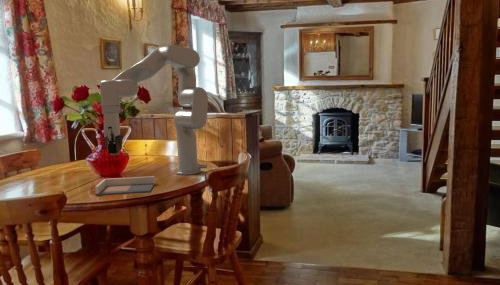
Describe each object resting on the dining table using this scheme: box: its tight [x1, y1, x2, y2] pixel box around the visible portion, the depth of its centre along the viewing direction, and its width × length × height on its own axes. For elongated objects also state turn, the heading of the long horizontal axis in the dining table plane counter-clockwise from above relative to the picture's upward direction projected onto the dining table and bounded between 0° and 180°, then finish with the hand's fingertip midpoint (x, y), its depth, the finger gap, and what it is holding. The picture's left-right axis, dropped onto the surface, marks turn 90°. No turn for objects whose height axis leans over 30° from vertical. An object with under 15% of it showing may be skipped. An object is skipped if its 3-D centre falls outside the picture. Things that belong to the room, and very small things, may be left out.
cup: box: [103, 134, 124, 156], centre depth 183 cm, size 8×7×8 cm
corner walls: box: [94, 175, 156, 195], centre depth 185 cm, size 22×15×3 cm
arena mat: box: [95, 183, 156, 196], centre depth 186 cm, size 22×15×1 cm
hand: (114, 151), depth 183 cm, fingers closed on cup, 6 cm apart
